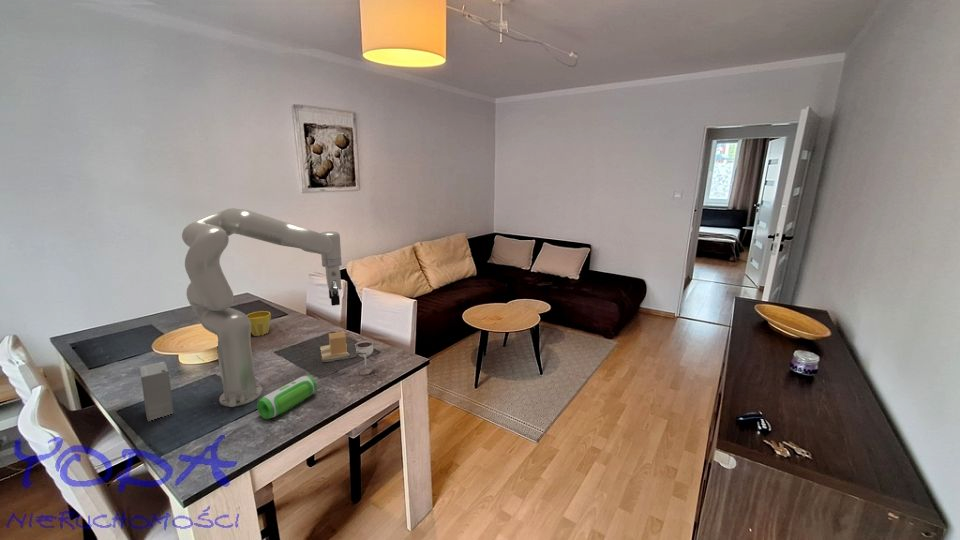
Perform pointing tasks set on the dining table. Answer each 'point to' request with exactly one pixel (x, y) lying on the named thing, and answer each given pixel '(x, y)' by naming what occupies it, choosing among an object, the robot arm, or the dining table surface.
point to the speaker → (286, 397)
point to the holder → (327, 353)
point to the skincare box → (156, 390)
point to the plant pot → (259, 322)
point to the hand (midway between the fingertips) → (334, 301)
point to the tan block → (337, 342)
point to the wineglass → (364, 349)
